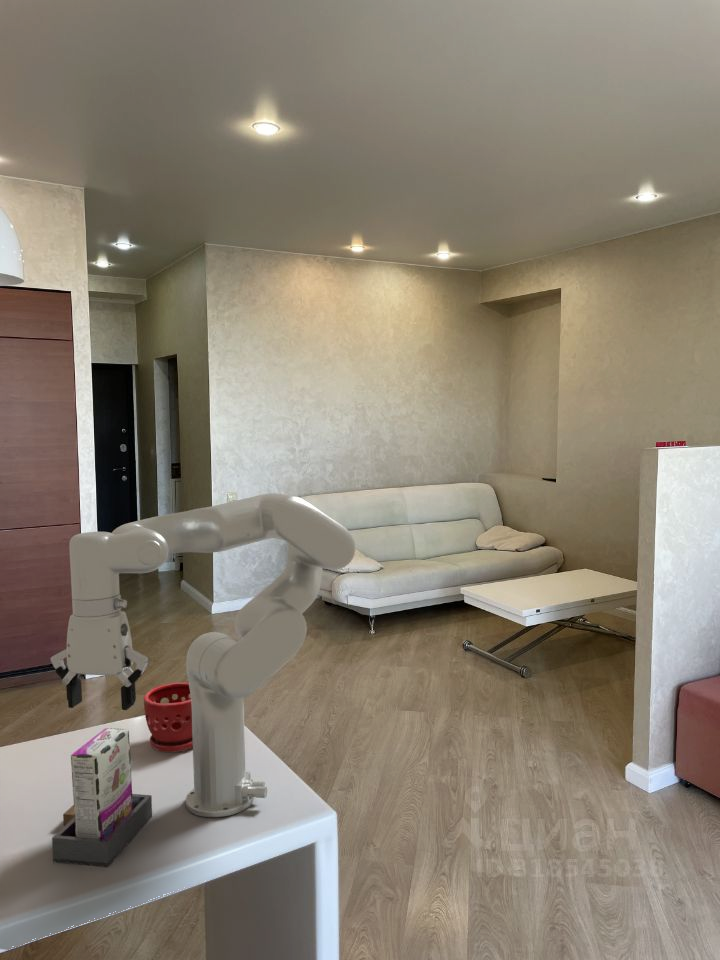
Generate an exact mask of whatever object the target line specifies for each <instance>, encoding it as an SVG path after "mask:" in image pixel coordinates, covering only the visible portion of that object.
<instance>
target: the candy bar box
mask: <svg viewBox="0 0 720 960" xmlns="http://www.w3.org/2000/svg"><path fill="white" fill-rule="evenodd" d="M130 746H131V742H130V729H127V728H111V727H107V728H106V727H105V728H103V729H102V730H101V731H99V732H98V733H97V734H96V735H95V736H94V737H92V738H90V740H89V741H87V742H85V744H83V745H81V747H79V748H78V749H76V751H74V752H73V753H71V754H70V763H71V765H70V766H71V779H72V795H73V805H74V813H75V814H74V815H75V833H76V837H82V838H94V839H106V838H107V837H108V836H109V835H110V834H111V833H112V832H113V831H114V830H115V829H116V827H117V826H118V825H119V824H120V823H121V822H122V821H123V820H124V819H125V818H126V817H127V816H128V815H129V814H130V813H131V812H132V811H133V798H132V794H133V783H132V779H133V778H132V763H131V747H130Z"/></svg>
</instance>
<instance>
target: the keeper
mask: <svg viewBox="0 0 720 960" xmlns="http://www.w3.org/2000/svg"><path fill="white" fill-rule="evenodd" d="M152 797H153V796H152V794H151V795H150V794H137V793H132V798H133V811H132V812H131V813H130V814H129V815H128V816H127V817H126V818H125V819H124V820H123V821H122V822H121V823H120V824H119V825H118V826H117V827H116V829H115V830H114V831H113V832H112V833H111V834H110V835H109V836H108V837H107V838H106V839H94V838H82V837H76V833H75V817H74V818H73V819H72V820H71V821H70V822H69V823H68V824H67V825H65V826H64V825H63V827H62V828H61V829H60V830H59V831H58V832H57V833H56V834H55V835H54V836H52V837H51V841H52V842H51V843H52V860H53V861H52V862H54V863H59V864H60V863H63V864H71V863H72V864H73V865H82V864H84V866H95V867H104V868H105V867H106V868H107V867H108V866H109V867H110V865H112V863H113V862H114V861H115V860H116V859H117V857H118V856H119V855H120V854H121V853H122V852H123V851H124V849H125V848H126V847H127V846H128V845H129V844H130V843H131V842H132V841H133V839H134V838H135V837H136V836H137V835H138V834H139V832H140V831H141V830H142V829H143V828H144V827H145V826H146V825H147V823H148V822H149V821H150V820H151V819H152V818H153V801H152V799H153V798H152Z"/></svg>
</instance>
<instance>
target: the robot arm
mask: <svg viewBox="0 0 720 960" xmlns="http://www.w3.org/2000/svg"><path fill="white" fill-rule="evenodd" d="M269 539H277V540H281V541H284V542H286V543H287V559H286V564H285V566H284V568H283V570H282V572H281V573H280V574H279V575H278V576H277V577H276V578H275V579H274V580H273V581H272V582H270V583H269V584H268V585H267V586H266V587H265V588H264V589H263V590H262V591H260V592H259V593H257V595H256V596H254V597H253V598H251V600H249V601H248V602H247V603H246V604H245V605H244V606H242V607H241V608H240V610H239V611H238V612H237V614H236V617H235V619H234V628H235V631H236V634H237V635H238V636H239V638H240V639H239V640H238V639H236V638H234V637H232V636H230V635H228V634H225V633H222V632H218V631H211V632H207V633H206V632H205V633H203V634H200V635H199V636H198V637H197V638H195V639H194V641H192V643H191V644H190V646H189V648H188V650H187V654H186V659H185V665H186V666H185V667H186V674H187V675H186V677H187V680H188V682H187V683H189V688H190V694H189V695H190V698H191V706H192V738H193V748H192V762H193V765H192V767H193V787H194V788H192V789H191V790H190V791H189V792H188V793H187V795H186V797H185V805H186V808H187V809H188V811H189V812H191V813H192V814H193V815H196V816H200V817H205V818H223V817H228V816H229V817H230V816H232V815H236V814H238V813H240V812H243V811H244V810H246V809H248V808H249V807H250V806H251V805H252V804H253V802H254V801H255V798H256V799H257V798H258V799H266V798H267V796H268V787H267V786H265V784H266V782H265V781H254V780H253V779H252V778H251V772H250V771H246V750H245V749H246V745H245V744H246V743H245V707H244V705H245V704H244V703H245V702H244V699H245V698H247V697H249V696H250V695H252V694H253V693H255V692H256V691H258V689H259V690H260V688H261V687H262V686H263V685H264V684H265V683H266V682H267V681H269V680H270V679H271V678H272V677H273V676H274V675H275V674H276V673H277V672H279V671H280V670H281V669H282V668H283V667H284V666H285V665H286V664H287V663H288V662H289V661H291V659H292V658H293V657H294V656H296V654H297V653H298V652H299V651H300V649H301V648H302V646H303V644H304V643H305V639H306V638H307V630H308V629H307V621H306V618H305V616H304V615H303V614H304V612H306V610H307V609H309V607H310V606H311V605H313V603H314V602H315V601H316V599H317V597H318V596H319V593H320V590H321V585H322V577H323V569H325V570H331V571H338V570H341V569H343V568H345V567H347V566H349V564H350V563H351V562H352V560H353V559H354V556H355V553H356V543H355V538H354V537H353V535H352V534H351V532H350V531H349V530H348V528H346V527H345V526H344V525H342V524H341V523H339V522H338V521H337V520H334V519H333V518H331V517H330V516H329V515H327V514H326V513H324V512H322V511H321V510H320V509H318V508H317V507H315V506H314V505H313V504H311V503H310V502H308V501H306V500H304V499H303V498H301V497H299V496H296V495H292V494H284V493H283V494H282V493H276V492H275V493H273V492H271V493H262V494H258V495H254V496H250V497H246V498H242V499H238V500H234V501H228V502H225V503H221V504H220V503H219V504H216V505H212V506H206V507H200V508H194V509H190V510H187V511H180V512H173V513H168V514H163V515H157V516H152V517H150V518H148V517H147V518H144V519H140V520H136V521H132V522H128V523H124V524H122V525H120V526H118V527H116V528H115V529H114V530H113V531H112V532H108V531H87V532H81V533H78V534H75V535H73V536H72V537H71V538H70V540H69V543H68V544H69V563H70V565H69V566H70V567H69V568H70V580H71V583H70V584H71V602H72V604H71V605H72V614H71V615H69V620H68V623H67V624H68V625H67V633H66V649H65V648H64V649H63V650H61V651H60V652H58V653H56V654H54V655H52V656H51V657H50V663H51V664H52V666H53V667H54V669H55V673H56V674H57V676H58V677H59V678H60V679H61V680H62V684H64V685H65V686H66V687H65V688H66V689H65V690H66V701H67V704H68V706H67V707H68V708H69V709H73V708H75V707H77V706H78V705H79V704H81V703H82V701H83V692H82V691H83V689H82V680H81V678H79V677H80V675H82V676H83V675H84V676H85V675H86V676H115V677H117V678H118V680H119V681H120V682H121V683H122V685H123V686H121V688H120V700H121V702H120V703H121V709H122V710H123V711H127V710H129V709H130V708H131V707H133V706H134V705H135V702H136V699H137V697H136V692H137V691H136V682H137V681H138V680H139V679H140V678H141V677H142V676H143V674H144V673H145V670H146V668H147V666H148V664H149V663H150V659H149V657H147V656H146V655H144V654H142V653H140V652H139V651H137V650H135V649H134V648H133V642H132V634H131V628H130V624H129V621H128V620H129V619H128V617H127V614H126V612H125V611H123V610H122V609H126V608H127V605H128V601H127V600H126V599H123V598H122V595H121V594H120V574H146V573H151V572H152V573H153V572H154V571H157V570H158V569H159V568H161V567H162V566H163V565H164V564H165V562H166V560H167V559H168V555H173V554H179V553H181V554H182V553H203V554H212V553H221V552H226V551H229V550H232V549H236V548H239V547H242V546H247V545H250V544H254V543H258V542H261V541H265V540H269ZM64 659H66V664H65V662H64ZM134 663H135V664H136V667H135V670H133V669H132V668H131V667H133V666H134V665H133V664H134Z"/></svg>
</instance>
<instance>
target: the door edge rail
mask: <svg viewBox="0 0 720 960" xmlns="http://www.w3.org/2000/svg"><path fill="white" fill-rule="evenodd" d="M74 814H75V813H74V804H72V806H70V808H68V809H67V810H66V811H65V812H64V813H63V815H62V818H63V819H62V820H63V821H62V823H63V827H64V826H65V825H67V824H68V823H69V822H70V821H71V820H72V819H73V818H74V817H75V815H74Z"/></svg>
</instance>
